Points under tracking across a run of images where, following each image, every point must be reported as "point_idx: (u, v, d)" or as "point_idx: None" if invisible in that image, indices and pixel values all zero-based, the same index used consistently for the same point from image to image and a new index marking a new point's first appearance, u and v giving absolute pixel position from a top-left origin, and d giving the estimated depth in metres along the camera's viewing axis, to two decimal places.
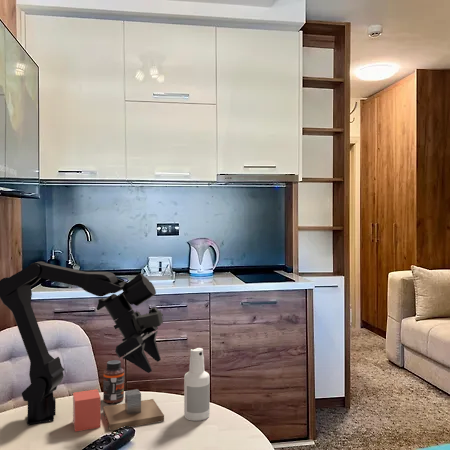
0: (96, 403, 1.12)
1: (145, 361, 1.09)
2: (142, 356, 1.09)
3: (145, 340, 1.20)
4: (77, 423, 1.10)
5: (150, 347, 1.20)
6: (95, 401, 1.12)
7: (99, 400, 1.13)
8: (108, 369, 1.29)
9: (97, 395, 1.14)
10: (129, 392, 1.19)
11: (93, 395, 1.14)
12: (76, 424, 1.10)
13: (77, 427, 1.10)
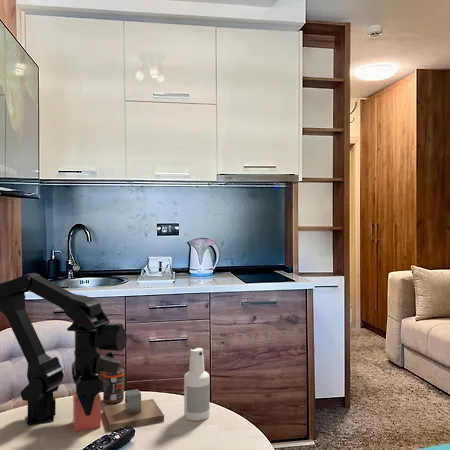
0: (96, 403, 1.12)
1: (91, 404, 1.09)
2: (92, 399, 1.09)
3: None
4: (77, 423, 1.10)
5: None
6: (95, 401, 1.12)
7: (99, 400, 1.13)
8: None
9: (97, 395, 1.14)
10: (129, 392, 1.19)
11: None
12: (76, 424, 1.10)
13: (77, 427, 1.10)
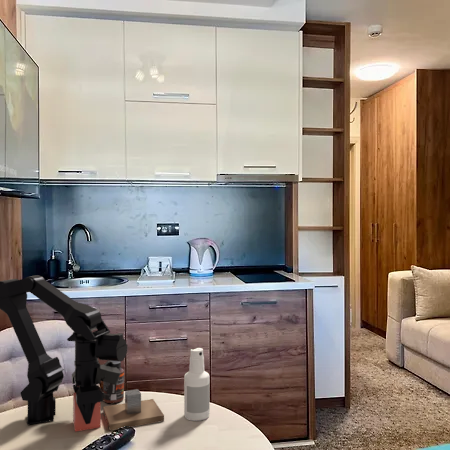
0: (96, 403, 1.12)
1: (91, 413, 1.11)
2: (92, 407, 1.10)
3: None
4: (77, 423, 1.10)
5: None
6: None
7: None
8: None
9: None
10: (129, 392, 1.19)
11: None
12: (76, 424, 1.10)
13: (77, 427, 1.10)
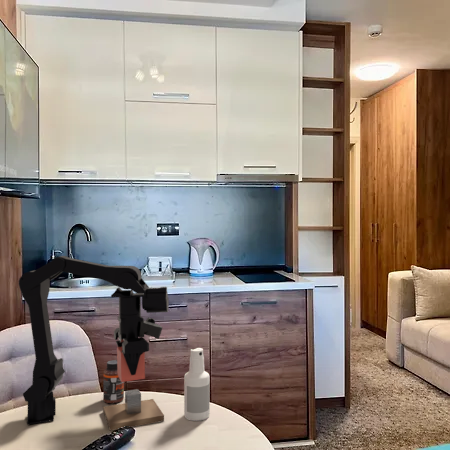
0: None
1: (136, 364, 1.15)
2: (137, 359, 1.15)
3: None
4: (123, 374, 1.15)
5: None
6: None
7: None
8: (108, 369, 1.29)
9: None
10: (129, 392, 1.19)
11: None
12: (122, 375, 1.15)
13: (123, 378, 1.15)
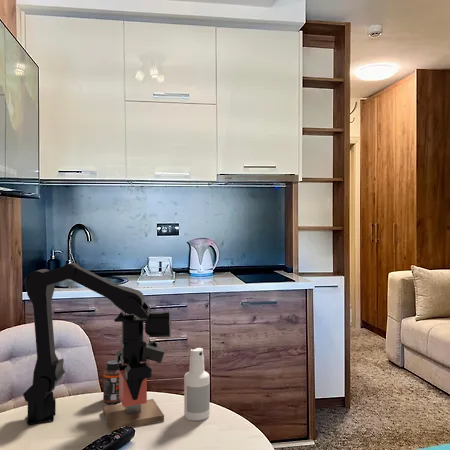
0: None
1: (138, 389, 1.15)
2: (140, 384, 1.15)
3: None
4: (125, 399, 1.15)
5: None
6: None
7: None
8: (108, 369, 1.29)
9: None
10: None
11: None
12: (124, 400, 1.15)
13: (125, 403, 1.15)
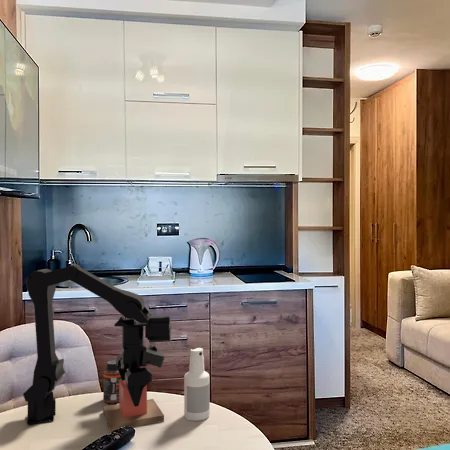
0: (143, 391, 1.17)
1: (140, 395, 1.14)
2: (141, 390, 1.14)
3: (127, 370, 1.24)
4: (125, 409, 1.15)
5: None
6: None
7: (145, 387, 1.17)
8: (108, 369, 1.29)
9: None
10: None
11: None
12: (124, 410, 1.15)
13: (125, 413, 1.15)
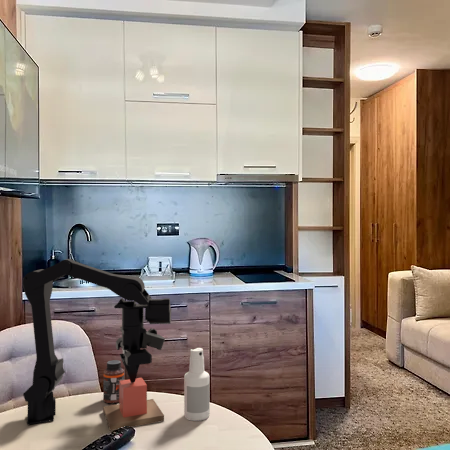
0: (143, 391, 1.17)
1: (136, 372, 1.18)
2: (137, 366, 1.18)
3: None
4: (125, 409, 1.15)
5: None
6: (142, 388, 1.17)
7: (145, 387, 1.17)
8: (108, 369, 1.29)
9: (143, 383, 1.19)
10: None
11: (139, 383, 1.19)
12: (124, 410, 1.15)
13: (125, 413, 1.15)
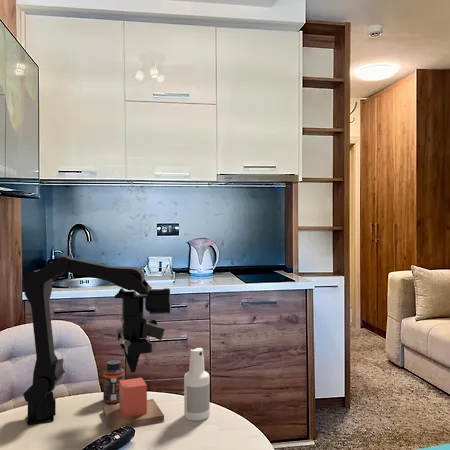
0: (143, 391, 1.17)
1: (136, 362, 1.18)
2: (137, 356, 1.18)
3: None
4: (125, 409, 1.15)
5: None
6: (142, 388, 1.17)
7: (145, 387, 1.17)
8: (108, 369, 1.29)
9: (143, 383, 1.19)
10: None
11: (139, 383, 1.19)
12: (124, 410, 1.15)
13: (125, 413, 1.15)
